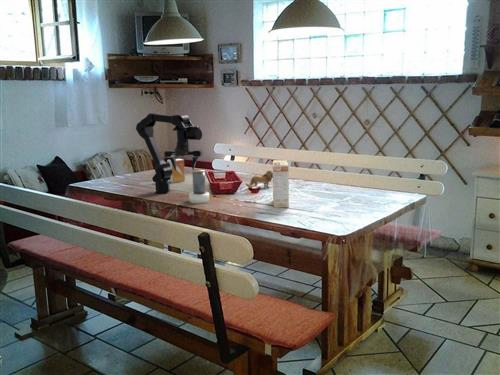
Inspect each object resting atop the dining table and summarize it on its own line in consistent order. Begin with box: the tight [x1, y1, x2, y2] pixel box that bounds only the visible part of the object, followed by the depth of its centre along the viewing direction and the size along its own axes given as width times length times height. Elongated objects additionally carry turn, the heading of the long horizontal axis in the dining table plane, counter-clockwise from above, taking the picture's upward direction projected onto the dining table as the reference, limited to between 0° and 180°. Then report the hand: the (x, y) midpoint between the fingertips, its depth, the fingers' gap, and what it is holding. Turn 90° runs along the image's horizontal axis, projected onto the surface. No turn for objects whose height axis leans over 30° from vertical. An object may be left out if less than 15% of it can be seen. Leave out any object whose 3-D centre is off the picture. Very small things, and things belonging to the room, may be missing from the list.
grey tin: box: [191, 169, 207, 194], centre depth 239 cm, size 6×6×11 cm
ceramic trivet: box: [188, 191, 211, 204], centre depth 240 cm, size 10×10×4 cm
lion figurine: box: [249, 170, 273, 189], centre depth 267 cm, size 15×5×9 cm, turn 115°
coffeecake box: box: [272, 159, 290, 208], centre depth 229 cm, size 15×7×20 cm, turn 178°
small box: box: [166, 158, 186, 184], centre depth 289 cm, size 8×6×13 cm
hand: (184, 170), depth 251 cm, fingers open, 9 cm apart
